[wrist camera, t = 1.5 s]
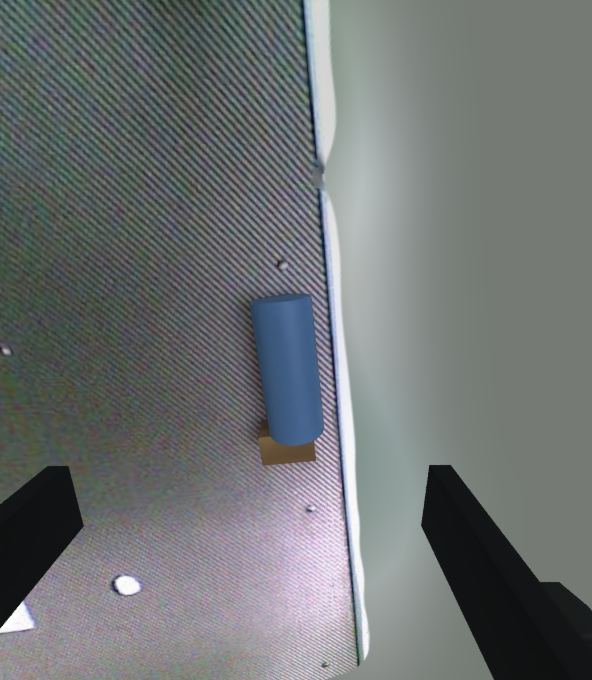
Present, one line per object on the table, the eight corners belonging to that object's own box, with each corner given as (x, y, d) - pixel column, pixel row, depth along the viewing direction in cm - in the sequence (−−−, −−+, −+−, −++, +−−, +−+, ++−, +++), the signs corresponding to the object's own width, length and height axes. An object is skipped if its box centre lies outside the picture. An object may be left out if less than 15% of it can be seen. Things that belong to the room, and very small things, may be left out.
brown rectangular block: (261, 420, 28) (257, 437, 25) (311, 415, 28) (312, 432, 25) (265, 445, 29) (262, 466, 26) (314, 441, 29) (316, 461, 26)
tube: (242, 300, 24) (259, 305, 20) (295, 292, 26) (322, 294, 21) (262, 425, 27) (281, 453, 23) (308, 409, 29) (334, 433, 24)
